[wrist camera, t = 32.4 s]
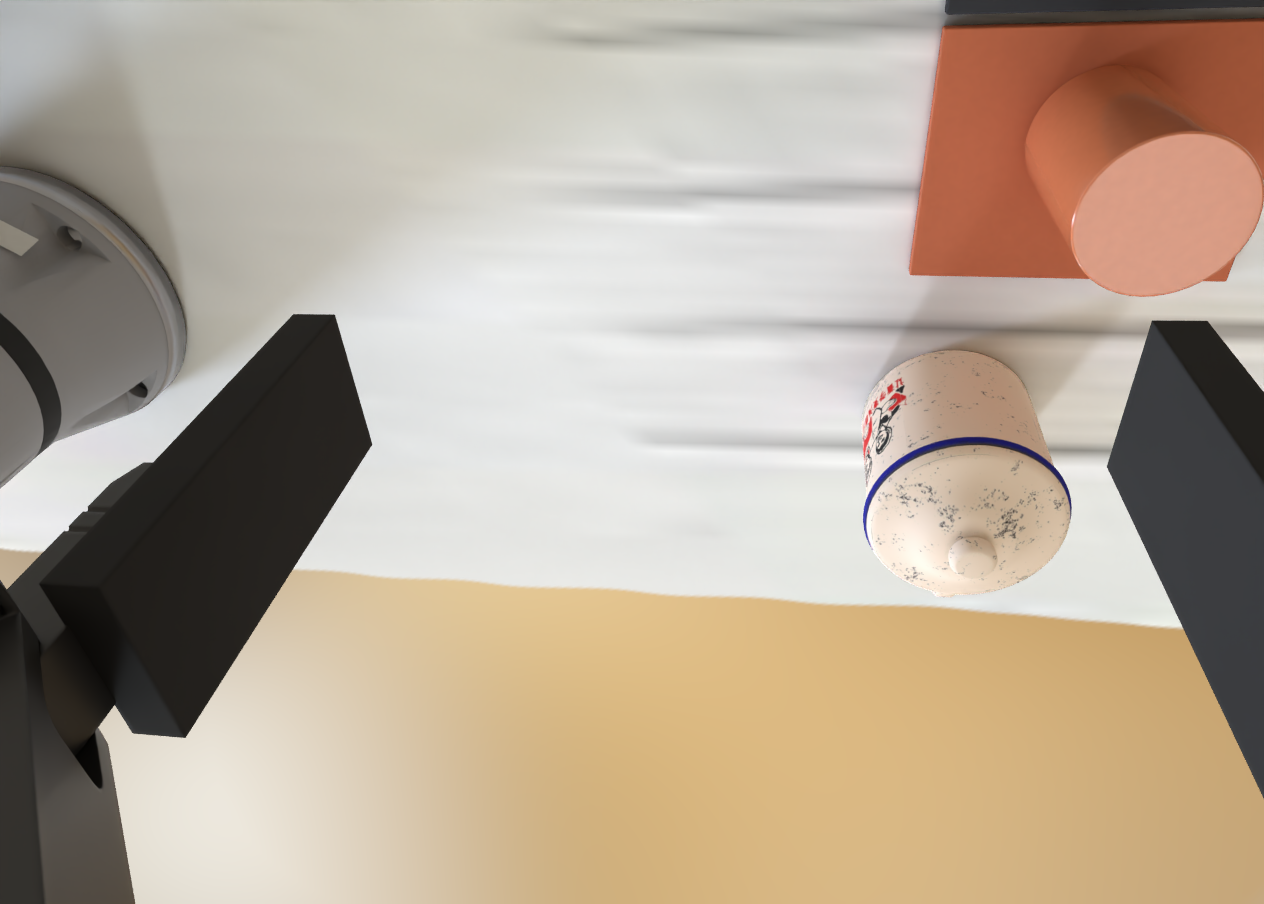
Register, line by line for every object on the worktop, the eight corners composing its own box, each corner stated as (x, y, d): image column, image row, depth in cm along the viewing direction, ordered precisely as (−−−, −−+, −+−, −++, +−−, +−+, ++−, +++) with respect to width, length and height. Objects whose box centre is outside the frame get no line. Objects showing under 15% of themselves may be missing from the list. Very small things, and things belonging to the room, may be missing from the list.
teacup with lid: (861, 342, 46) (872, 480, 37) (1048, 342, 45) (1110, 486, 35) (850, 519, 53) (857, 672, 44) (1012, 524, 52) (1055, 685, 42)
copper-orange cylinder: (1012, 206, 40) (1054, 295, 33) (1040, 65, 37) (1094, 131, 30) (1155, 207, 39) (1230, 299, 32) (1198, 63, 36) (1293, 130, 29)
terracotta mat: (908, 270, 44) (909, 275, 43) (942, 25, 37) (944, 28, 37) (1221, 276, 41) (1226, 282, 41) (1316, 16, 35) (1323, 19, 34)
